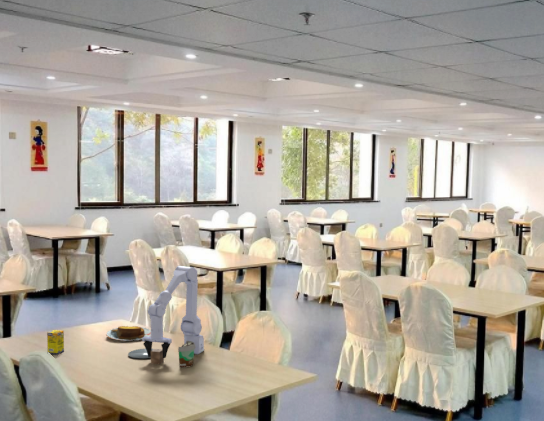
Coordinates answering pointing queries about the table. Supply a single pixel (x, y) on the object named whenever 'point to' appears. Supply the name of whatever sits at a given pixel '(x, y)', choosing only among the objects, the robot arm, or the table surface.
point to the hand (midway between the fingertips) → (157, 357)
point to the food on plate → (128, 333)
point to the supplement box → (55, 342)
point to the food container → (186, 354)
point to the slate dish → (139, 353)
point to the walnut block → (157, 356)
